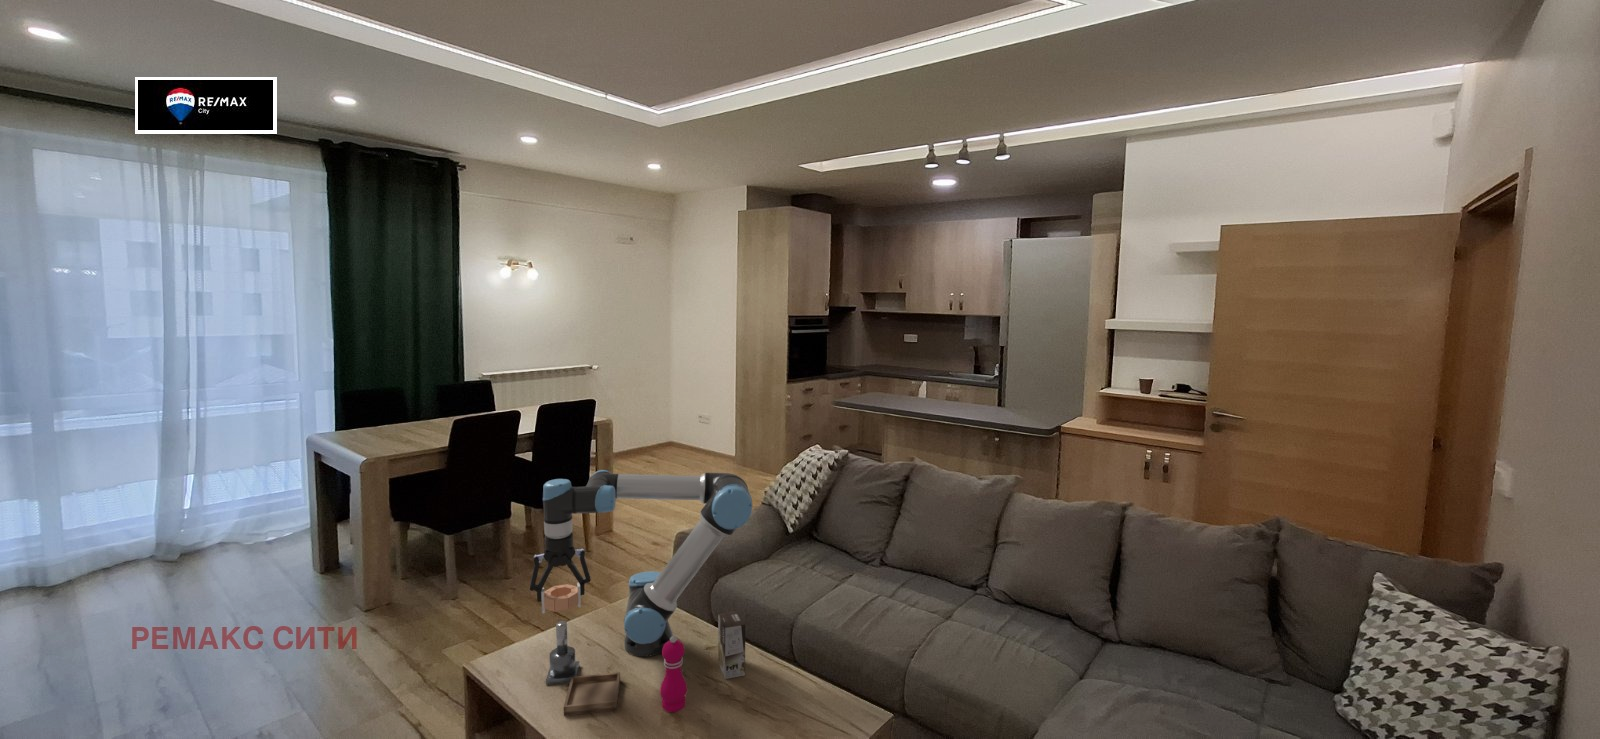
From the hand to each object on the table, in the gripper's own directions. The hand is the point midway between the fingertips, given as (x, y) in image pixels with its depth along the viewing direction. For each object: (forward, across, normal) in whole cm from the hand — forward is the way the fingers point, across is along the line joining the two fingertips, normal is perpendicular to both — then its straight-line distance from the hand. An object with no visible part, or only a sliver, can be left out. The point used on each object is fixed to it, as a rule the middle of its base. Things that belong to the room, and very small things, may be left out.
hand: (561, 608), depth 183 cm
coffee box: (+21, -47, +14) cm, 53 cm away
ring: (-2, 0, 0) cm, 2 cm away
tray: (+21, -7, +14) cm, 26 cm away
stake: (+21, 0, 0) cm, 21 cm away
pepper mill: (+21, -28, +24) cm, 43 cm away
